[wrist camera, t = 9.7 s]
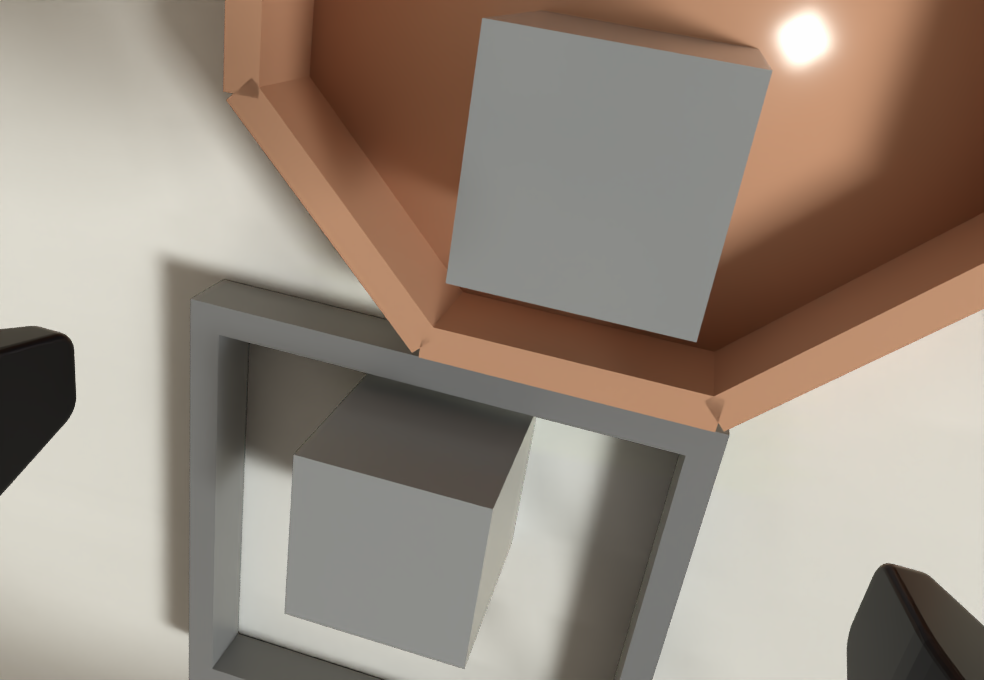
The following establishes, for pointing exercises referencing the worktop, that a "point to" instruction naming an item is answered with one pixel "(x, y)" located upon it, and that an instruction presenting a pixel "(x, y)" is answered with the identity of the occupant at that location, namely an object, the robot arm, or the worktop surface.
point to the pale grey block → (603, 167)
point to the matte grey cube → (405, 516)
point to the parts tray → (380, 351)
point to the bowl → (756, 216)
